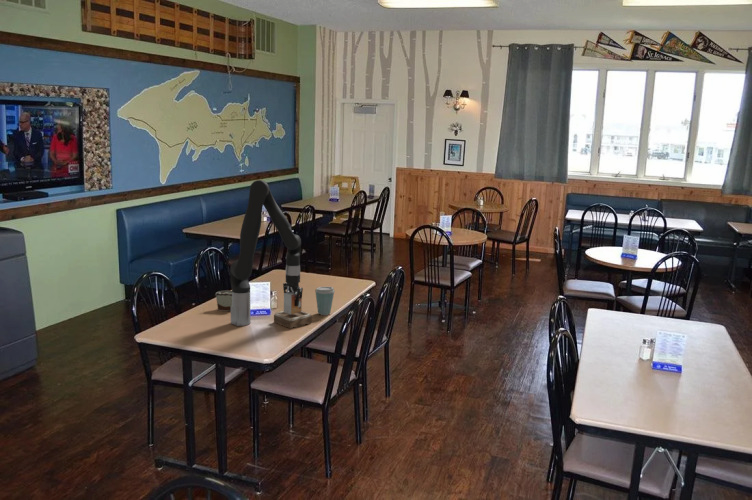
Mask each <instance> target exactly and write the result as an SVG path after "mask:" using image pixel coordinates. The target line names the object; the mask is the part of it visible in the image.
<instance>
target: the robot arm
mask: <svg viewBox="0 0 752 500" xmlns="http://www.w3.org/2000/svg"><path fill="white" fill-rule="evenodd" d="M248 195H249V196H248V204H247V207H246V211H245V214H244V216H243V221H242V225H241V228H240V234H239V245H240V246H239V248H240V250H239V256H238V259H236V260H234V261H233V262H232V263H231V265H230V271H229V274H230V277H229V279H230V285H231V291H232V306H231V311H230V324H231V325H233V326H236V327H239V326H240V327H241V326H243V327H244V326H248V325H250V324H251V319H252V318H251V285H250V282H249V278H250V277H251V275H252V272H253V266H254V265H253V264H254V258H255V257H254V256H255V252H256V248H257V244H258V240H259V235H260V232H261V227H262V215H263V214H262V213H263V207H264V208H265V210H266V212H267V213H268V216H269V218H270V220H271V222H272V224H273V225H274V227H275V229H276V230H277V232H278V233H279V235H280V238H281V240H282V242H283V244H284V246H285V248H287V253H286V257H285V258H286V259H285V282H284V283H283V284H282V286H283V287H282V288H283V294H284V293H288V292H292V294H293V295H294V298H295V299H294V306H298V305H299V299H301V298H302V297H303V291H304V288H303V287H300V285H299V284H300V283H301V248H302V238H301V237H300V235H298V234H294V232H293V230H292V225H291V223H290V222H289V220H288V219H287V217H286V216H285V214H284V212H283V211H282V210H281V208H280V206H279V205H278V204H277V202H276V200H275V198H274V196H273V194H272V191H271V188H270V185H269V184H268V183H267V182H266V181H265V180H262V179H258V180H257V179H256V180H255V181H253V182H252V183H251V184H250V187H249V194H248ZM296 292H297V293H296ZM296 295H297V297H296ZM299 295H300V296H299ZM302 299H303V298H302Z"/></svg>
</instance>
